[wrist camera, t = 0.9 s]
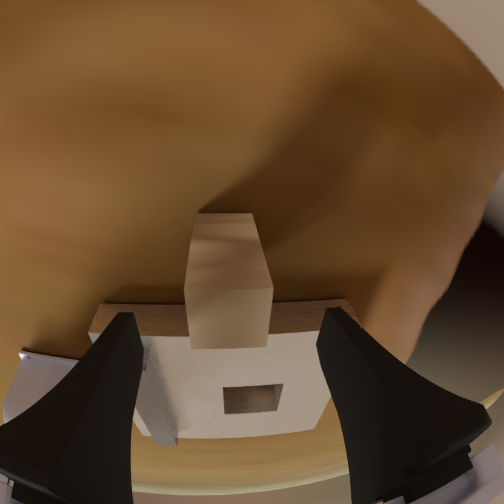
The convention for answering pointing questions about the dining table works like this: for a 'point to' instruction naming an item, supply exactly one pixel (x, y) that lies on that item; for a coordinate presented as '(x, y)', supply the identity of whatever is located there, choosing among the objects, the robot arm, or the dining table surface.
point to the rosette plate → (227, 374)
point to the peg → (227, 283)
